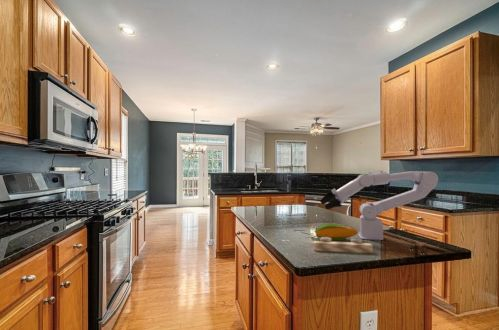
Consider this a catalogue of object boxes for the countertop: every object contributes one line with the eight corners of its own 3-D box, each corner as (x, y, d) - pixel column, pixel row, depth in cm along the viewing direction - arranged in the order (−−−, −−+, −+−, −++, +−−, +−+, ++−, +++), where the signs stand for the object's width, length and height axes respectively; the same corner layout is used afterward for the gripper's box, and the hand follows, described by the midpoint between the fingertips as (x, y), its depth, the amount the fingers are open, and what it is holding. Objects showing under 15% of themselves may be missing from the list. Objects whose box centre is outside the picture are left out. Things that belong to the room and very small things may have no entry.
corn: (312, 222, 118) (353, 220, 119) (312, 237, 118) (353, 236, 120) (318, 226, 111) (361, 225, 112) (318, 243, 111) (361, 241, 112)
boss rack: (368, 247, 103) (368, 238, 103) (373, 253, 96) (372, 243, 96) (313, 245, 107) (313, 236, 107) (314, 250, 100) (314, 240, 101)
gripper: (346, 189, 128) (323, 203, 131) (339, 178, 118) (314, 193, 121) (354, 200, 124) (330, 214, 127) (347, 189, 113) (322, 205, 116)
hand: (323, 205), depth 124 cm, fingers open, 7 cm apart
